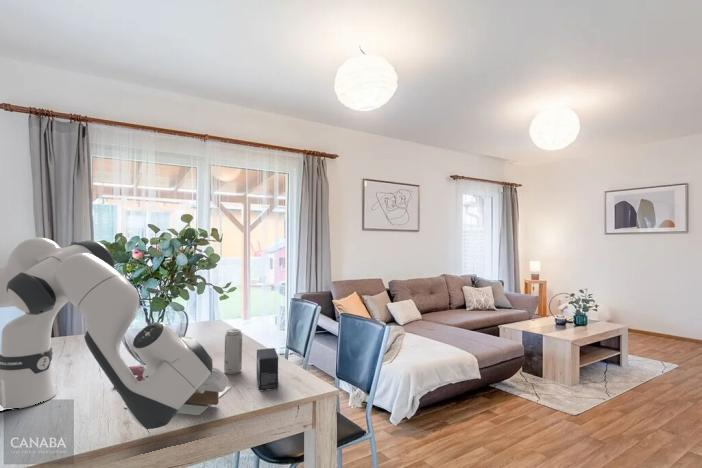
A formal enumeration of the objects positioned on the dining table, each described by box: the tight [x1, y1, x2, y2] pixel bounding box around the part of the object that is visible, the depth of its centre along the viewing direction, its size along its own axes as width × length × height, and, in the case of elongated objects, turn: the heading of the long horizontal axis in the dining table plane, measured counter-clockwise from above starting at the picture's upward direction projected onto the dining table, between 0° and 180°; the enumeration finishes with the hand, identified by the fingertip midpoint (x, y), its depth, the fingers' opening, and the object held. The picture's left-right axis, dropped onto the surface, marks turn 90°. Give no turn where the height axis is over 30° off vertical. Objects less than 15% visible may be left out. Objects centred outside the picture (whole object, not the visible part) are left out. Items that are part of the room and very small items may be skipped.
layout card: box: [123, 386, 232, 416], centre depth 114 cm, size 23×19×1 cm
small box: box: [256, 347, 279, 391], centre depth 126 cm, size 11×6×10 cm, turn 19°
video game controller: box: [113, 365, 146, 389], centre depth 123 cm, size 10×5×7 cm, turn 93°
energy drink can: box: [223, 328, 243, 375], centre depth 136 cm, size 6×6×15 cm
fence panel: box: [186, 391, 220, 406], centre depth 109 cm, size 2×12×9 cm, turn 82°
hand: (199, 390), depth 104 cm, fingers closed
